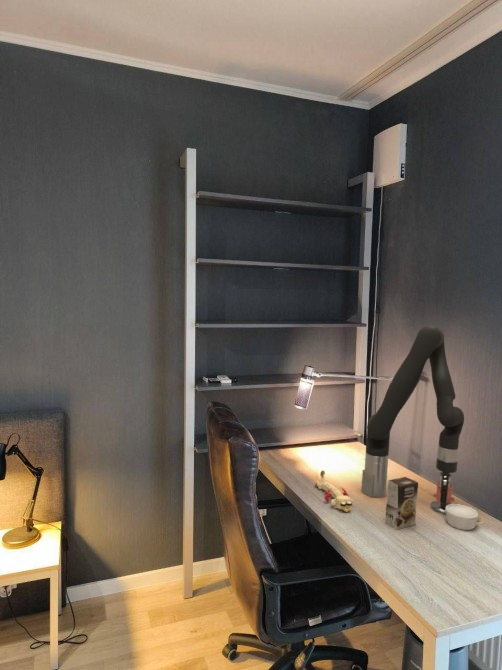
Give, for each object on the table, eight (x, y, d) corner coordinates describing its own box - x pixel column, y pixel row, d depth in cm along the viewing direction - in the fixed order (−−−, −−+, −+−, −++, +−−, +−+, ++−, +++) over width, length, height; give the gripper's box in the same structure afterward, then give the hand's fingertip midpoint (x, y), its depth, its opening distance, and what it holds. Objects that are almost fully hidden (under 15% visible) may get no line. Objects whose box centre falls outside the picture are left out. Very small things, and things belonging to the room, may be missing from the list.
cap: (432, 500, 181) (433, 485, 180) (433, 494, 186) (434, 480, 186) (453, 505, 178) (455, 489, 177) (453, 499, 183) (455, 484, 183)
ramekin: (460, 514, 178) (461, 501, 178) (484, 529, 168) (485, 515, 168) (437, 519, 174) (438, 505, 174) (460, 534, 164) (462, 519, 163)
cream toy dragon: (310, 490, 198) (336, 513, 174) (310, 470, 198) (336, 490, 174) (331, 488, 201) (359, 511, 177) (331, 468, 201) (360, 488, 177)
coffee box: (397, 530, 165) (400, 486, 163) (384, 522, 170) (387, 479, 169) (416, 525, 169) (419, 482, 167) (402, 517, 175) (405, 475, 173)
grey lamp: (445, 516, 176) (447, 494, 175) (424, 505, 185) (426, 483, 184) (463, 512, 181) (465, 489, 180) (442, 501, 189) (444, 480, 189)
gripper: (437, 450, 188) (434, 490, 190) (436, 462, 175) (432, 504, 177) (457, 453, 185) (454, 494, 187) (457, 466, 172) (453, 509, 174)
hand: (443, 499), depth 182 cm, fingers closed on cap, 5 cm apart
